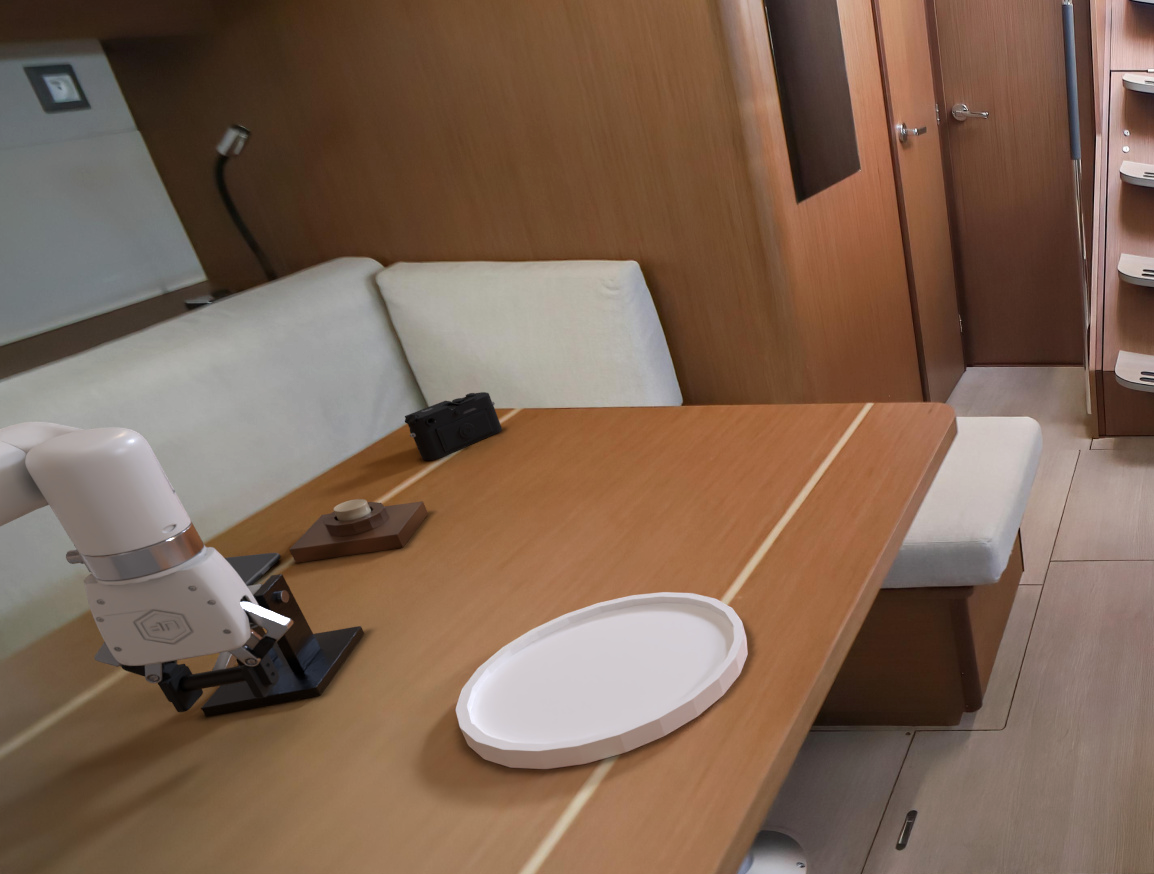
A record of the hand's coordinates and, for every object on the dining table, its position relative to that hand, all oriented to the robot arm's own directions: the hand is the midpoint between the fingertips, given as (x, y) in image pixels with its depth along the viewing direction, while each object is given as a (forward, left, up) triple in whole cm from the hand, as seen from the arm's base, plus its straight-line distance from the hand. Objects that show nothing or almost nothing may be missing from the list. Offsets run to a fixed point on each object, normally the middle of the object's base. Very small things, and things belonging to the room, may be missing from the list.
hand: (229, 695), depth 100 cm
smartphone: (-16, +32, -4) cm, 36 cm away
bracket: (0, +9, -4) cm, 10 cm away
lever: (0, +5, +3) cm, 6 cm away
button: (-4, +42, -1) cm, 43 cm away
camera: (-2, +74, -4) cm, 75 cm away
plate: (+35, -5, -4) cm, 36 cm away
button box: (-4, +42, -4) cm, 43 cm away
